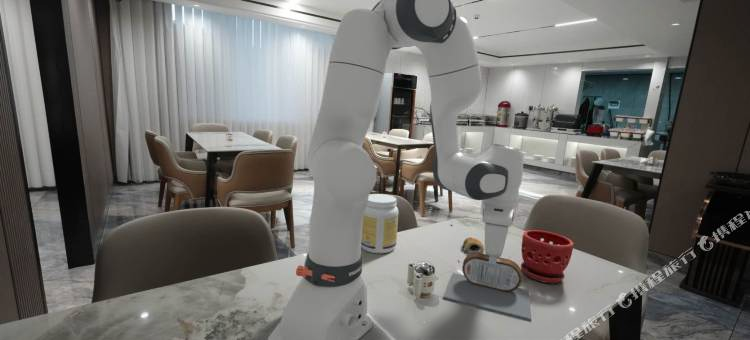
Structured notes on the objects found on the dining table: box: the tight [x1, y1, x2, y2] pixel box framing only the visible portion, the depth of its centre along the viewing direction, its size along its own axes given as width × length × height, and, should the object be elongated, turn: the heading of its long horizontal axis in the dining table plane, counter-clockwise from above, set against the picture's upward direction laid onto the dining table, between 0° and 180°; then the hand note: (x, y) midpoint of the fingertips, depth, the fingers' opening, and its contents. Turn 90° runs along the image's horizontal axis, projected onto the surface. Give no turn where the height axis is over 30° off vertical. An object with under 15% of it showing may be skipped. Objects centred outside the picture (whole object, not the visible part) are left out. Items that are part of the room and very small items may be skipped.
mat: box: [443, 272, 532, 322], centre depth 88 cm, size 14×20×1 cm
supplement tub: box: [361, 193, 400, 254], centre depth 113 cm, size 12×12×17 cm
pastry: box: [462, 237, 485, 254], centre depth 118 cm, size 9×7×4 cm
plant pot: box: [520, 229, 575, 284], centre depth 100 cm, size 13×13×12 cm
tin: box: [461, 252, 523, 292], centre depth 90 cm, size 15×3×8 cm, turn 67°
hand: (493, 259), depth 90 cm, fingers open, 3 cm apart
